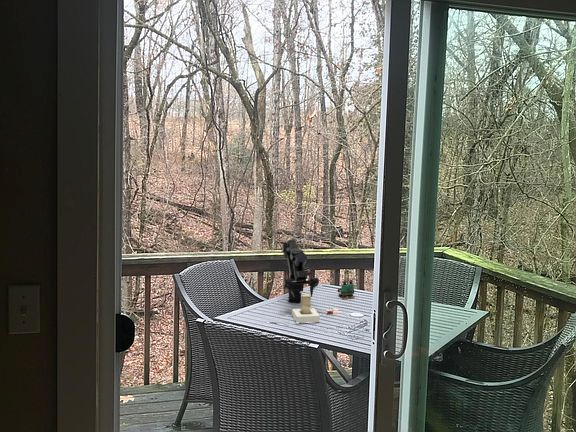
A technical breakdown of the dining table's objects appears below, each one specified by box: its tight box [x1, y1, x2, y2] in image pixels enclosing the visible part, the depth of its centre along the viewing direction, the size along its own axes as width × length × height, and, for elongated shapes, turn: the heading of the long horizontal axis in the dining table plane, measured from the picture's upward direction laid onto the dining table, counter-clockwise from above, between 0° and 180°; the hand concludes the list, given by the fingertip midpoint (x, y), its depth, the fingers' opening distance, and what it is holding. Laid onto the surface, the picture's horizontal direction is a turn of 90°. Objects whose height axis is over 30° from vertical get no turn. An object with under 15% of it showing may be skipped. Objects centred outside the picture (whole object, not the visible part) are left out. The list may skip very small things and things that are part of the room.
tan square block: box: [300, 294, 312, 315], centre depth 323 cm, size 4×4×13 cm
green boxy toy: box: [337, 279, 355, 300], centre depth 361 cm, size 9×11×10 cm
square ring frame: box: [291, 307, 320, 323], centre depth 324 cm, size 12×12×4 cm
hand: (303, 296), depth 329 cm, fingers open, 9 cm apart
